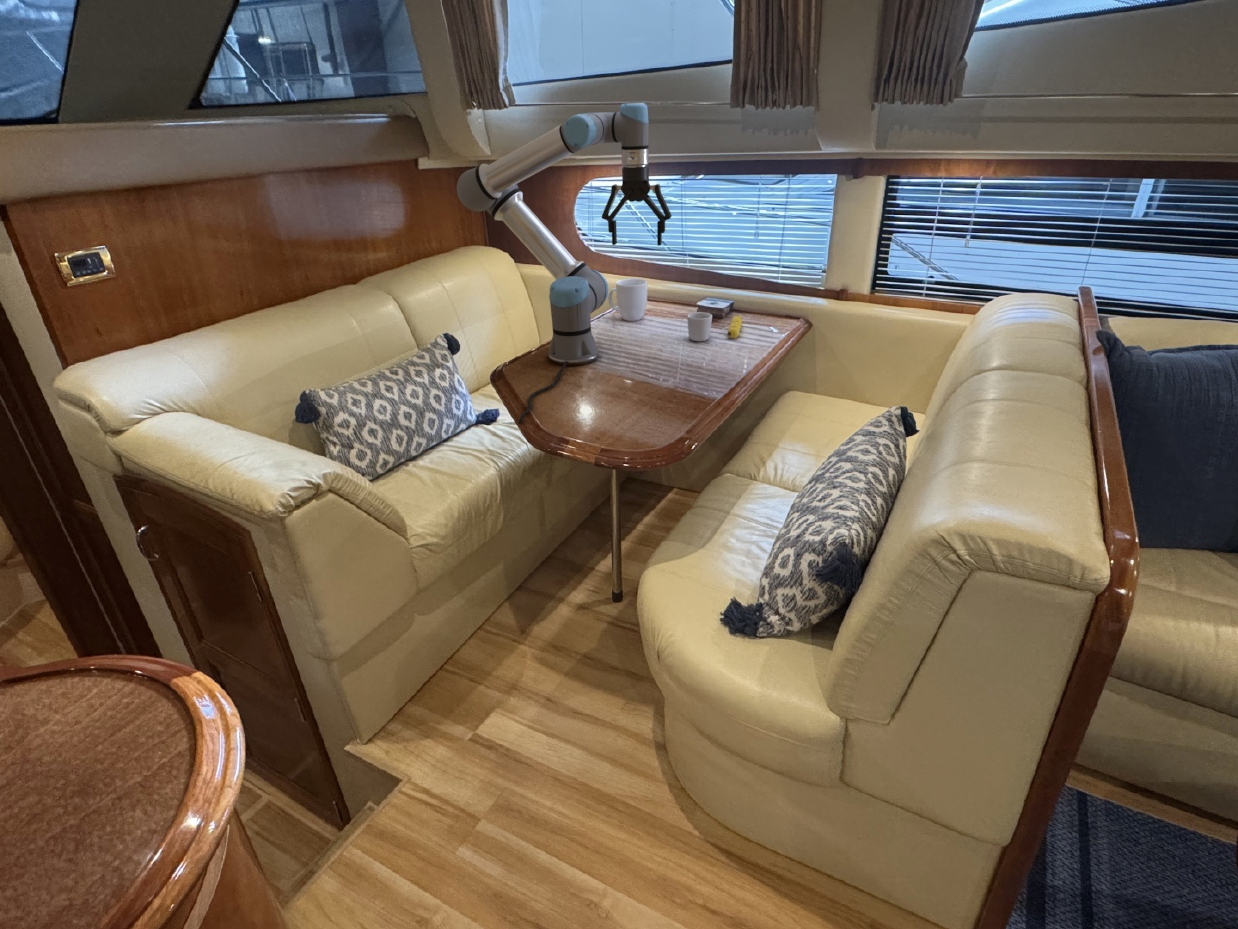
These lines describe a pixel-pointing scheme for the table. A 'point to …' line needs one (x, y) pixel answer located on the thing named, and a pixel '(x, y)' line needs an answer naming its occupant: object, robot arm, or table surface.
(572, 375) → the table surface
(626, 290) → the mug
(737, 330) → the yellow bumpy cylinder
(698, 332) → the cup
